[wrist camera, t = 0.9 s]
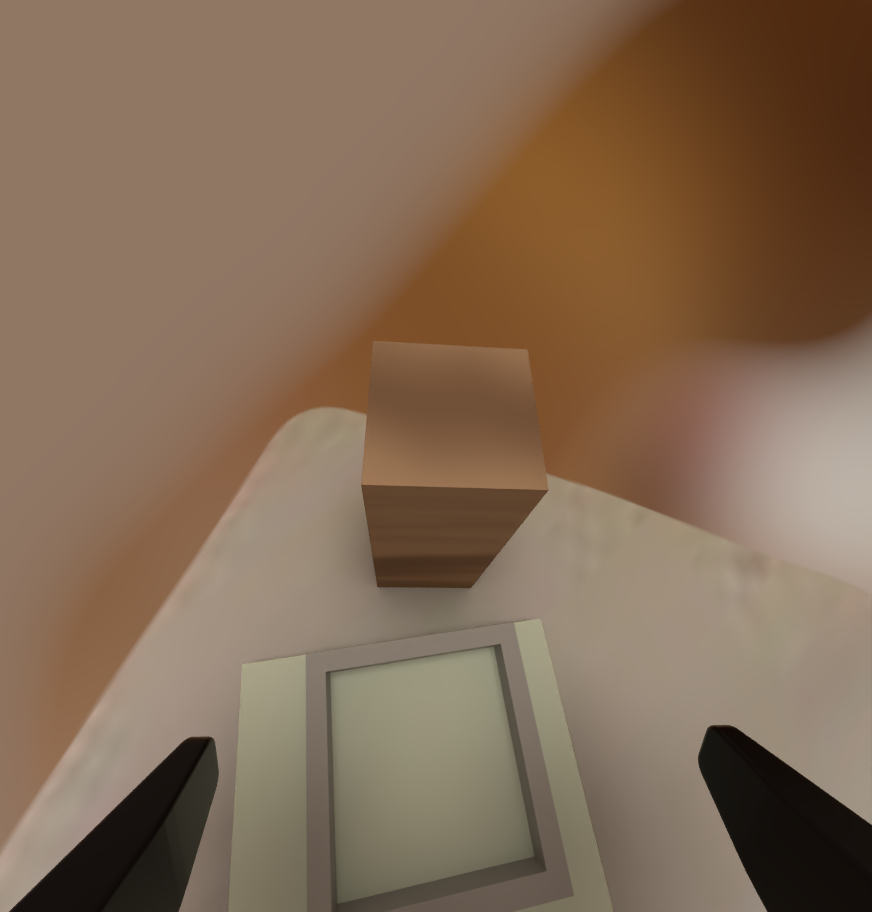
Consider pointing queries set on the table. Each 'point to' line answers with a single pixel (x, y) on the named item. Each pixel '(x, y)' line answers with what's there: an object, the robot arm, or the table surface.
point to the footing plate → (412, 781)
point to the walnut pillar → (448, 460)
